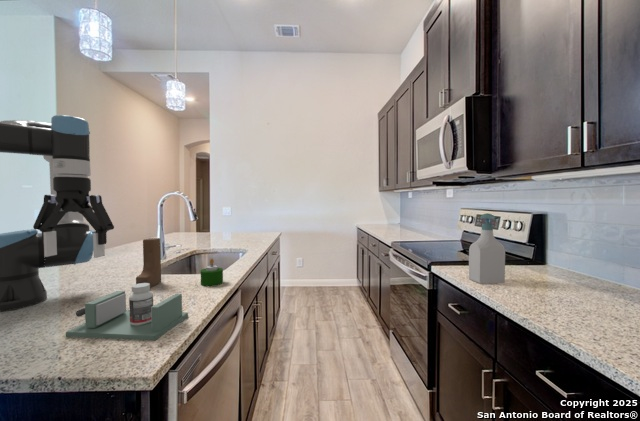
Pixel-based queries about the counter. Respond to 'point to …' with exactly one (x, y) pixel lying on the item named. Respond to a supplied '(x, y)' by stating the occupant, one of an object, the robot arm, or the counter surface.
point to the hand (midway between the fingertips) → (74, 256)
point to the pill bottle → (140, 304)
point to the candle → (211, 275)
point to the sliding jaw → (103, 309)
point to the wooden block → (151, 262)
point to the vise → (120, 327)
